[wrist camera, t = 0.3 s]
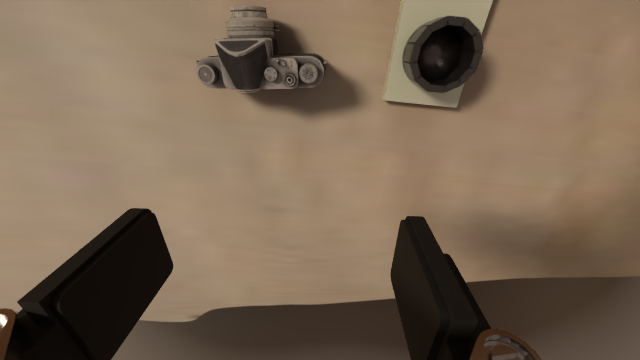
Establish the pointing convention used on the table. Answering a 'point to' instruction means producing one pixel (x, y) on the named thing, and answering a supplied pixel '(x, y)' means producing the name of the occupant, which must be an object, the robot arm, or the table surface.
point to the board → (415, 10)
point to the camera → (257, 57)
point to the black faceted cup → (442, 53)
